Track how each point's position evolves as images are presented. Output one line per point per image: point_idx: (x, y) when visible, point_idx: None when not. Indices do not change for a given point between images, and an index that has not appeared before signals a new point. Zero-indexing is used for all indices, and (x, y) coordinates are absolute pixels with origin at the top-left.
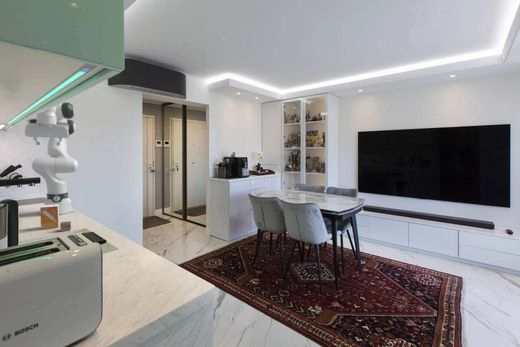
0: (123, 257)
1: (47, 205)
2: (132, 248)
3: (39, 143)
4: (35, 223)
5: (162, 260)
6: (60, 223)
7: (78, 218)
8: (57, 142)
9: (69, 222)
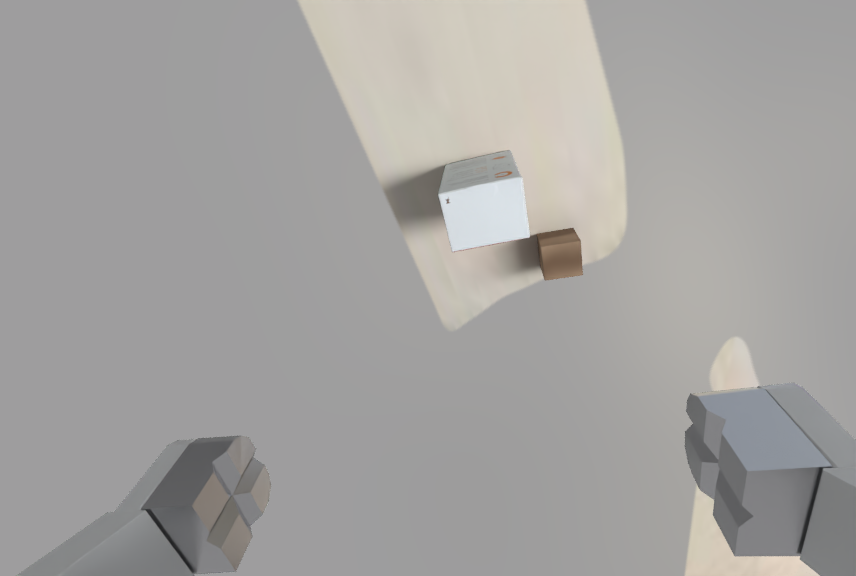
0: None
1: (471, 210)
2: None
3: (224, 480)
4: (386, 84)
5: None
6: (543, 269)
7: (583, 15)
8: (766, 548)
9: (578, 263)
